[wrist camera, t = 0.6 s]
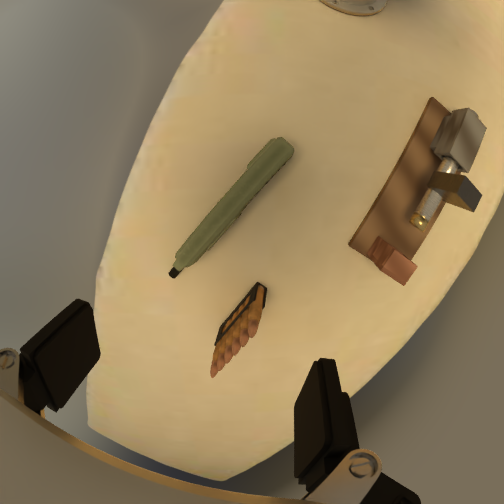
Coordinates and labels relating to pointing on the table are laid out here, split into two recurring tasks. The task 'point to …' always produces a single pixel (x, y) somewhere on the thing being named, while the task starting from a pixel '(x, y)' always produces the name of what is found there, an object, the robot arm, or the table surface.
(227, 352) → the ammunition clip
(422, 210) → the tube
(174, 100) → the table surface
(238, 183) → the handheld radio
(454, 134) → the tube stand
